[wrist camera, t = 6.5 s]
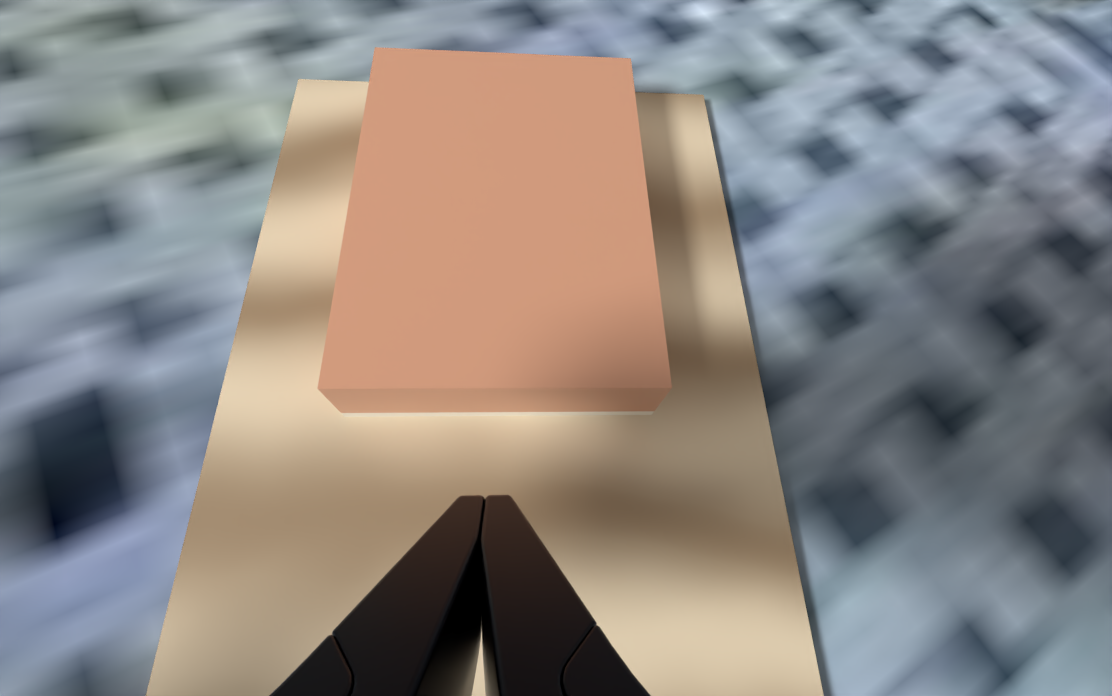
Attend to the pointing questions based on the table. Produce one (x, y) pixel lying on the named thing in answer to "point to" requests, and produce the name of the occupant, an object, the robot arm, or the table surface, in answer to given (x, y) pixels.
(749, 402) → the board
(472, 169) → the tile
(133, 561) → the table surface
